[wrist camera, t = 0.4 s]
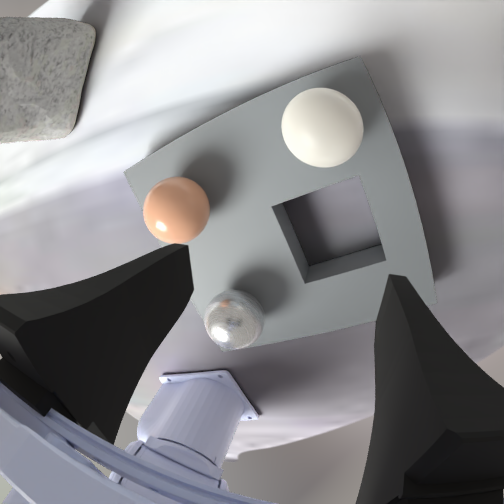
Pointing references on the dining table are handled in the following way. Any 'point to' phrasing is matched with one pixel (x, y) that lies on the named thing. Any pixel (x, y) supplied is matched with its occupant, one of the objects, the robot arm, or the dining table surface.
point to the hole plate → (277, 221)
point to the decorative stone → (41, 76)
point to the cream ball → (322, 127)
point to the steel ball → (234, 319)
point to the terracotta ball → (176, 210)
